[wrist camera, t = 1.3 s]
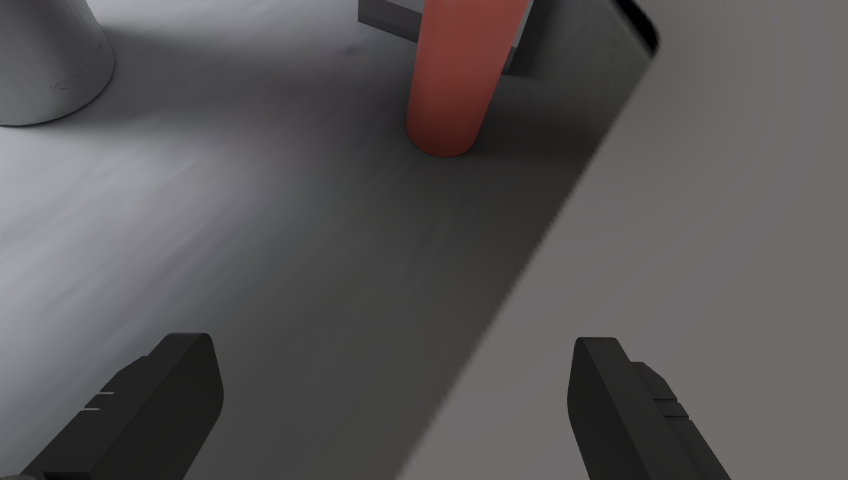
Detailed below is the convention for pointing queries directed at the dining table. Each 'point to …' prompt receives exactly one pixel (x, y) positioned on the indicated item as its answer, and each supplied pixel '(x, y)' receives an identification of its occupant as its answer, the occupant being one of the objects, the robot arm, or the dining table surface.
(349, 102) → the dining table surface
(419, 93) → the bottle
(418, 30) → the tray
